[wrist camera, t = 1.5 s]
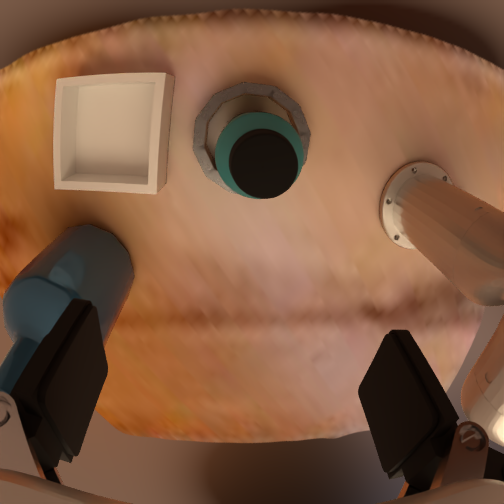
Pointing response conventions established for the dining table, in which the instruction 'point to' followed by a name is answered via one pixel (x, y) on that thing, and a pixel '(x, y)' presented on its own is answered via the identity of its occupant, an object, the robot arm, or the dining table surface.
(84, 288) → the wine bottle
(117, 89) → the bin
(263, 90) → the holder ring
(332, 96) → the dining table surface
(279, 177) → the beverage bottle
